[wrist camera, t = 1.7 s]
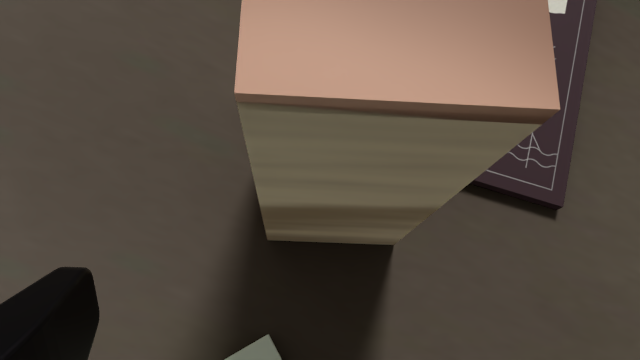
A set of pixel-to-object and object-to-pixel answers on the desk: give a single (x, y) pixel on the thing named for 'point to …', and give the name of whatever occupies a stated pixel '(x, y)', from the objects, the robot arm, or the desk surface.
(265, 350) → the sage mat
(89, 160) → the desk surface
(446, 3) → the maple block
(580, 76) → the chocolate bar
